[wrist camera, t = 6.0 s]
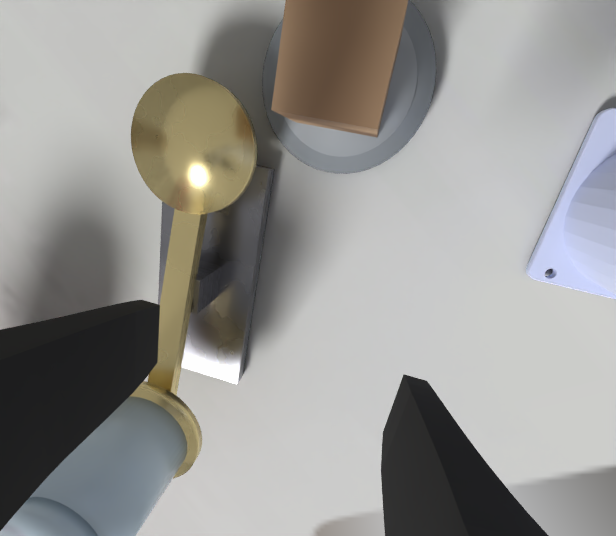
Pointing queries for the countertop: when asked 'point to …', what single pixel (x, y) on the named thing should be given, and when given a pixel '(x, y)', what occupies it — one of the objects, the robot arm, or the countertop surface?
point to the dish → (396, 117)
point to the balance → (201, 233)
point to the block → (337, 62)
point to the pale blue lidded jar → (107, 477)
